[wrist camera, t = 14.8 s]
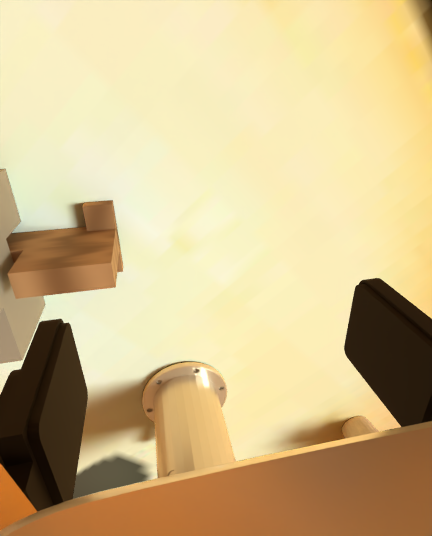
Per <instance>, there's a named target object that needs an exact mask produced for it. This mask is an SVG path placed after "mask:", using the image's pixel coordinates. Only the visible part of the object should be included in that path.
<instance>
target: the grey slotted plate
mask: <svg viewBox="0 0 432 536" xmlns="http://www.w3.org/2000/svg"><path fill="white" fill-rule="evenodd" d="M20 222H21V220H20V216H19V213H18V210H17V206H16V203H15V200H14V196H13V193H12V189H11V186H10V183H9V179H8V176H7V173H6V169H0V363H7V362H14V361H20V360H23V358H24V355H25V353H26V350H27V348H28V346H29V343H30V341H31V338H32V336H33V333H34V331H35V328H36V326H37V324H38V321H39V319H40V316H41V314H42V311H43V309H44V306H45V301H44V298H43V296H36V297H28V298H19V299H16V298H15V295H14V292H13V289H12V286H11V283H10V280H9V277H8V272H9V271H10V269H11V268H12V266H13V265H14V262H13V259H12V256H11V253H10V249H9V246H8V243H7V240H6V238H7V237H8V236H9V235H10V234H11V233H12V231H13V230H14V229H15V228H16V227H17V225H18V224H19V223H20Z"/></svg>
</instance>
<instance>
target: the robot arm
mask: <svg viewBox="0 0 432 536" xmlns="http://www.w3.org/2000/svg"><path fill="white" fill-rule="evenodd" d="M344 350H345V354H346V356H347V358H348V359H349V360H350V361H351V363H352V364H353V365H354V367H355V368H356V369H357V370H358V372H359V373H360V374H361V376H362V377H363V378H364V379H365V381H366V382H367V383H368V385H369V386H370V387H371V388H372V390H373V391H374V392H375V393H376V395H377V396H378V397H379V399H380V400H381V401H382V402H383V404H384V405H385V406H386V408H387V409H388V410H389V411H390V413H391V414H392V415H393V416H394V418H395V419H396V420H397V422H398V423H399V424H400V425H401V427H400V428H395V429H390V430H385V431H380V432H375V433H370V434H365V435H360V436H356V437H351V438H346V439H341V440H336V441H331V442H327V443H322V444H317V445H312V446H307V447H302V448H298V449H293V450H288V451H283V452H279V453H274V454H269V455H264V456H259V457H255V458H250V459H245V460H241V461H235V457H234V453H233V449H232V446H231V442H230V438H229V435H228V431H227V427H226V423H225V420H224V416H223V412H222V409H221V408H222V406H223V404H224V403H225V400H226V397H227V388H226V384H225V381H224V378H223V377H222V375H221V374H220V373H219V372H218V371H217V370H216V369H215V368H213V367H211V366H209V365H206V364H203V363H197V362H185V363H178V364H175V365H171V366H169V367H167V368H165V369H163V370H161V371H160V372H158V373H157V374H155V375H154V376H153V377H152V378H151V379H150V380H149V382H148V383H147V385H146V387H145V389H144V391H143V396H142V404H143V409H144V412H145V413H146V415H147V416H148V418H149V419H150V420H152V421H153V422H154V423H155V439H156V456H157V474H158V478H157V479H153V480H148V481H144V482H140V483H135V484H131V485H127V486H122V487H118V488H114V489H109V490H105V491H101V492H97V493H94V494H90V495H86V496H83V497H79V498H76V499H73V493H74V485H75V479H76V473H77V466H78V459H79V453H80V446H81V440H82V433H83V426H84V420H85V413H86V407H87V399H88V394H87V387H86V383H85V379H84V375H83V372H82V368H81V364H80V360H79V356H78V352H77V348H76V345H75V341H74V337H73V333H72V329H71V326H70V324H69V323H63V321H62V319H56V320H48V321H41V322H40V323H39V325H38V328H37V330H36V333H35V335H34V338H33V340H32V343H31V345H30V348H29V350H28V353H27V355H26V358H25V360H24V363H23V365H22V368H21V369H19V370H14V371H12V372H11V373H10V375H9V376H8V379H7V381H6V383H5V385H4V388H3V390H2V392H1V395H0V536H432V319H431V318H430V317H428V316H427V315H426V314H425V313H423V312H422V311H421V310H420V309H418V308H417V307H416V306H414V305H413V304H412V303H411V302H409V301H408V300H407V299H406V298H404V297H403V296H402V295H400V294H399V293H398V292H397V291H395V290H394V289H393V288H392V287H390V286H389V285H388V284H386V283H385V282H384V281H383V280H381V279H379V278H375V279H367V280H362V281H361V282H360V283H359V285H357V286H356V287H355V291H354V297H353V302H352V307H351V313H350V318H349V324H348V329H347V335H346V340H345V346H344Z"/></svg>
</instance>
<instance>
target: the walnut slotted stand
mask: <svg viewBox="0 0 432 536" xmlns="http://www.w3.org/2000/svg"><path fill="white" fill-rule="evenodd" d="M82 208H83V213H84V218H85V223H86V227H80V228H68V229H57V230H46V231H34V232H23V233H12V234H10V235H9V236H8V237H7V238H6V240H7V243H8V246H9V249H10V253H11V256H12V259H13V262H14V265H13V266H12V268H11V269H10V271H9V272H8V277H9V280H10V283H11V286H12V289H13V292H14V295H15V298H16V299H19V298H28V297H36V296H45V295H53V294H62V293H70V292H79V291H88V290H96V289H105V288H113V287H116V278H117V272H122V271H123V262H122V256H121V250H120V243H119V237H118V231H117V225H116V218H115V212H114V206H113V200H112V201H99V202H86V203H84V204H83V206H82Z"/></svg>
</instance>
